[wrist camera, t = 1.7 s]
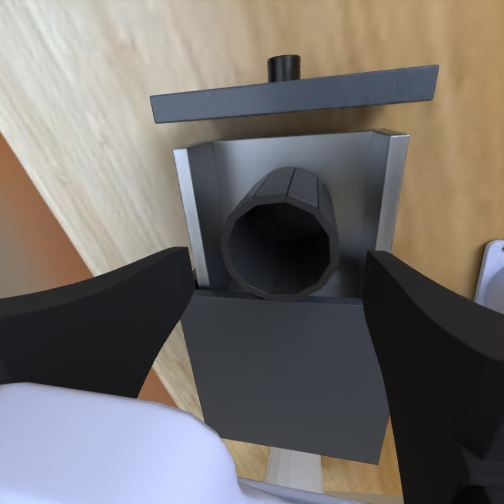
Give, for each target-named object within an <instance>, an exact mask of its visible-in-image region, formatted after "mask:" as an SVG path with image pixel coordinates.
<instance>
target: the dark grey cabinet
mask: <svg viewBox="0 0 504 504" xmlns="http://www.w3.org/2000/svg"><path fill="white" fill-rule="evenodd" d="M193 276H194V282H195V287H196V288H195V290H194V293H193V295H192V298H191V300H190V302H189V304H188V306H187V308H186V310H185V311H184V313H183V315H182V316H181V318H180V320H181V325H182V329H183V333H184V337H185V341H186V346H187V350H188V354H189V358H190V362H191V367H192V371H193V375H194V379H195V383H196V387H197V392H198V396H199V400H200V404H201V408H202V413H203V417H204V421H205V423H206V424H207V425H208V426H210V427H211V428H213V429H214V430H215V431H217V433H218V434H219V436H220V438H224V439H230V440H236V441H242V442H247V443H253V444H259V445H265V446H271V447H276V448H282V449H288V450H294V451H299V452H305V453H311V454H317V455H323V456H328V457H334V458H340V459H346V460H351V461H357V462H363V463H369V464H375V465H378V463H379V458H380V454H381V449H382V445H383V440H384V436H385V431H386V427H387V423H388V418H389V414H390V411H389V406H388V401H387V396H386V390H385V385H384V381H383V377H382V373H381V369H380V366H379V363H378V359H377V356H376V353H375V350H374V346H373V343H372V340H371V337H370V333H369V330H368V327H367V323H366V320H365V315H364V309H363V302H362V299H360V298H342V297H323V296H307V297H305V298H303V299H301V300H299V299H298V300H297V301H271V300H270V299H269V300H266V299H264V298H262V297H260V296H257V295H255V294H253V293H250V292H231V291H213V290H199V286H198V281H197V276H196V270H195V269H194V270H193Z"/></svg>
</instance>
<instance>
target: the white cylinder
mask: <svg viewBox="0 0 504 504" xmlns="http://www.w3.org/2000/svg"><path fill="white" fill-rule="evenodd" d="M264 482H265V483H270V484H274V485H279V486H284V487H289V488H294V489H299V490H304V491H309V492H314V493H319V494H324V486H323V476H322V466H321V456H320V455H317V454H311V453H305V452H299V451H294V450H288V449H282V448H276V447H271V450H270V455H269V459H268V464H267V468H266V473H265V477H264Z"/></svg>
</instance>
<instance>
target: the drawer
mask: <svg viewBox="0 0 504 504" xmlns="http://www.w3.org/2000/svg"><path fill="white" fill-rule="evenodd" d="M267 66H268V83H263V84H254V85H245V86H236V87H227V88H218V89H208V90H199V91H190V92H181V93H172V94H163V95H153V96H150V101H151V106H152V111H153V116H154V121H155V123H156V124H161V123H174V122H188V121H201V120H213V119H225V118H237V117H249V116H261V115H272V114H284V113H296V112H308V111H320V110H332V109H344V108H356V107H367V106H379V105H391V104H402V103H412V102H422V101H431V100H433V97H434V92H435V86H436V81H437V75H438V70H439V65H429V66H419V67H410V68H401V69H392V70H383V71H373V72H364V73H355V74H346V75H337V76H328V77H318V78H309V79H300V56H298V55H281V56H276V57H272V58H270V59H268V61H267ZM408 142H409V134H405V133H401V132H397V131H392V130H388V129H369V130H354V131H339V132H325V133H310V134H295V135H280V136H265V137H251V138H236V139H221V140H206V141H202V142H198V143H194V144H190V145H186V146H182V147H178V148H175V149H173V154H174V159H175V165H176V170H177V175H178V180H179V186H180V191H181V196H182V202H183V207H184V212H185V217H186V223H187V228H188V233H189V239H190V244H191V249H192V254H193V260H194V265H195V270H196V276H197V281H198V286H199V290H213V291H231V292H248V291H246V290H245V288H242V287H241V286H240V285H239V284H238V283H237V282H236V280H235V279H234V278H233V277H232V276H231V275H230V274H229V272H228V271H227V270H226V268H225V266H224V261H223V257H222V253H221V248H220V244H219V243H220V237H221V235H222V232H223V229H224V226H225V223H226V220H227V217H228V216H229V215H230V213H231V212H232V211H233V210H234V208H235V207H236V206H237V205H238V204H239V202H240V201H241V200H242V199H243V198H244V196H245V195H246V194H247V193H248V192H249V190H250V189H251V188H252V187H253V186H254V184H256V183H257V182H258V181H259V180H260V179H261V178H263V177H264V176H265V175H266V174H268V173H269V172H272V171H273V170H277V169H280V168H286V167H294V168H300V169H303V170H306V171H308V172H310V173H312V174H314V175H315V176H317V177H318V178H319V179H320V180H321V181H322V183H323V184H324V185H325V187H326V188H327V190H328V192H329V194H330V195H331V199H332V204H333V209H334V214H335V219H336V224H337V230H338V235H339V263H338V266H337V268H336V270H335V271H334V273H333V274H332V276H331V277H330V279H329V281H328V282H327V284H326V285H325V286H323V288H322V289H320V290H318V291H316V292H314V293H312V294H310V295H308V296H323V297H342V298H360V299H362V289H363V280H364V272H365V264H366V255H367V250H374V251H386V252H388V253H391V247H392V241H393V234H394V228H395V222H396V216H397V210H398V204H399V197H400V191H401V185H402V179H403V173H404V167H405V160H406V154H407V148H408Z"/></svg>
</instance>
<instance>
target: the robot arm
mask: <svg viewBox="0 0 504 504" xmlns="http://www.w3.org/2000/svg"><path fill="white" fill-rule="evenodd" d="M502 247H504V240H495V241H491V242H489V243H488V244H487V245H486V247H485V251H484V256H483V261H482V265H481V270H480V275H479V279H478V284H477V288H476V293H475V298H474V302H473V301H471V300H469V299H467V298H465V297H463V296H461V295H458V294H456V293H454V292H453V291H451V290H449V289H447V288H445V287H443V286H441V285H440V284H438V283H436V282H434V281H433V280H431V279H429V278H427V277H426V276H424V275H423V274H421V273H419V272H418V271H416V270H415V269H413V268H412V267H410V266H408V265H407V264H405V263H404V262H402V261H401V260H399V259H398V258H396V257H395V256H393V255H392V254H390V253H388V252H386V251H374V250H367V255H366V264H365V272H364V280H363V289H362V302H363V309H364V315H365V320H366V323H367V327H368V330H369V333H370V337H371V340H372V343H373V346H374V350H375V353H376V356H377V359H378V363H379V366H380V369H381V373H382V377H383V381H384V385H385V390H386V396H387V401H388V406H389V411H390V417H391V423H392V429H393V434H394V440H395V446H396V453H397V459H398V465H399V472H400V478H401V485H402V492H403V498H404V504H504V250H501V249H502ZM195 288H196V287H195V282H194V276H193V271H192V266H191V261H190V256H189V251H188V247H171V248H168V249H165V250H162V251H160V252H157V253H155V254H152V255H150V256H147V257H145V258H143V259H140V260H138V261H136V262H133V263H131V264H128V265H126V266H123V267H121V268H118V269H116V270H113V271H111V272H108V273H105V274H102V275H99V276H97V277H94V278H90V279H87V280H84V281H81V282H77V283H74V284H70V285H66V286H62V287H58V288H54V289H50V290H46V291H41V292H36V293H31V294H26V295H20V296H14V297H8V298H2V299H0V504H368V503H364V502H359V501H353V500H349V499H344V498H339V497H334V496H329V495H324V494H319V493H314V492H309V491H304V490H299V489H294V488H289V487H284V486H279V485H274V484H270V483H265V482H260V481H255V480H250V479H245V478H240V477H237V475H236V470H235V464H234V460H233V459H232V457H231V455H230V453H229V451H228V450H227V448H226V446H225V445H224V443H223V441H222V439H221V438H220V436H219V434H218V433H217V431H215V430H214V429H213V428H211V427H210V426H208V425H207V424H206V423H204V422H203V421H201V420H200V419H199V418H197V417H196V416H194V415H193V414H192V413H190V412H187V411H184V410H181V409H178V408H175V407H171V406H169V405H166V404H163V403H159V402H155V401H148V400H141V399H137V397H138V394H139V392H140V390H141V388H142V386H143V384H144V381H145V379H146V377H147V375H148V373H149V371H150V369H151V367H152V365H153V363H154V361H155V359H156V357H157V355H158V353H159V351H160V350H161V348H162V346H163V345H164V343H165V341H166V340H167V338H168V337H169V335H170V334H171V332H172V330H173V329H174V327H175V326H176V324H177V323H178V321H179V319H180V318H181V316H182V315H183V313H184V311H185V310H186V308H187V306H188V304H189V302H190V300H191V298H192V295H193V293H194V290H195Z"/></svg>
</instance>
